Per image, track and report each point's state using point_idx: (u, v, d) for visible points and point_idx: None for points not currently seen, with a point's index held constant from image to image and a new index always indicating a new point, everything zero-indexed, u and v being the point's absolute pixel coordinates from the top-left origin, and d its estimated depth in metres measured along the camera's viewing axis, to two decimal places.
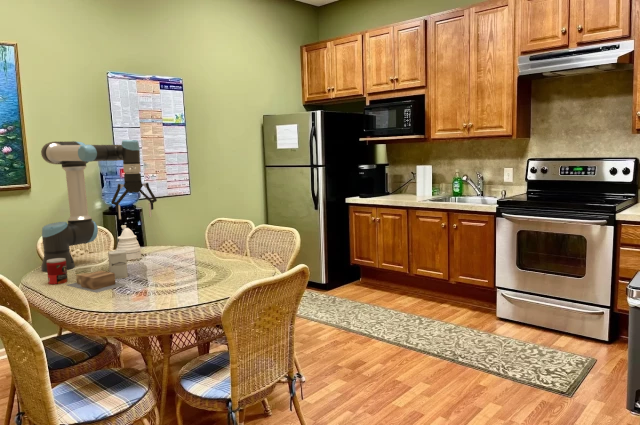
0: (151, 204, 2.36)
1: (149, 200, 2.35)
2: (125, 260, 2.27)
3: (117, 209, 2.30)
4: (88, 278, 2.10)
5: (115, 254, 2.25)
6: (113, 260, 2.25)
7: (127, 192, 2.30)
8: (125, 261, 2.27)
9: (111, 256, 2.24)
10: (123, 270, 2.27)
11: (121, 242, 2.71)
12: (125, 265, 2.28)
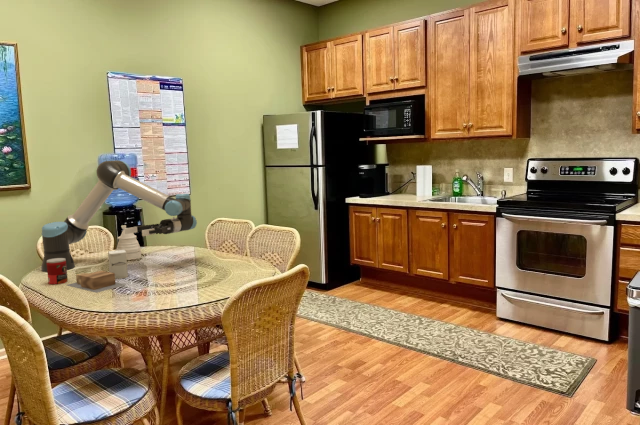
0: (154, 230, 2.36)
1: None
2: (125, 260, 2.27)
3: None
4: (88, 278, 2.10)
5: (115, 254, 2.25)
6: (113, 260, 2.25)
7: None
8: (125, 261, 2.28)
9: (111, 256, 2.24)
10: (123, 270, 2.27)
11: (121, 242, 2.71)
12: (125, 265, 2.28)
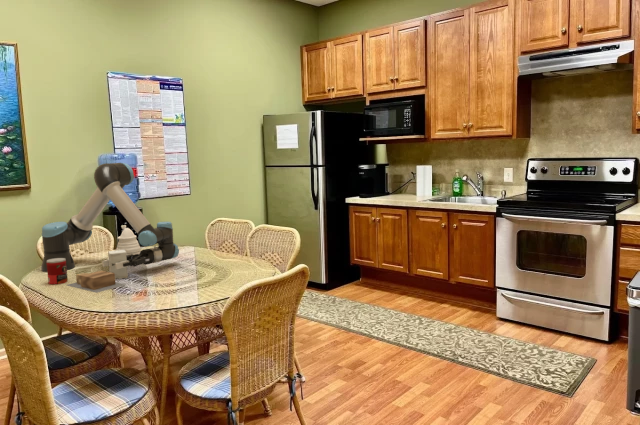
0: (128, 262, 2.27)
1: (131, 260, 2.29)
2: (125, 260, 2.27)
3: None
4: (88, 278, 2.10)
5: (115, 254, 2.25)
6: (113, 260, 2.25)
7: (131, 255, 2.38)
8: None
9: (112, 256, 2.24)
10: (123, 270, 2.27)
11: (121, 242, 2.71)
12: None
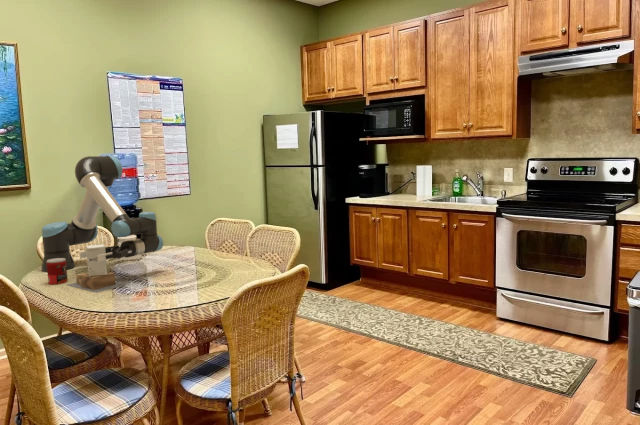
0: (111, 254, 2.12)
1: None
2: None
3: None
4: (88, 278, 2.10)
5: (93, 248, 2.10)
6: (91, 255, 2.09)
7: (110, 247, 2.23)
8: None
9: (89, 250, 2.09)
10: (102, 266, 2.12)
11: (121, 242, 2.71)
12: (104, 260, 2.12)
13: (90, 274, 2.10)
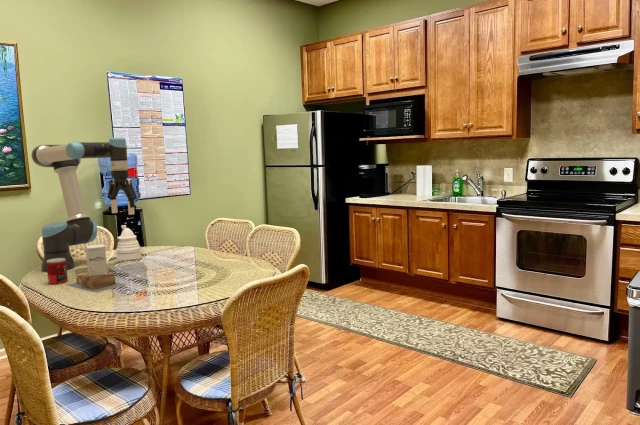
0: (130, 202, 2.34)
1: (128, 198, 2.34)
2: (104, 255, 2.12)
3: None
4: (88, 278, 2.10)
5: (93, 248, 2.10)
6: (91, 255, 2.09)
7: (114, 188, 2.38)
8: (104, 256, 2.12)
9: (89, 250, 2.09)
10: (102, 266, 2.12)
11: (121, 242, 2.71)
12: (104, 260, 2.12)
13: (90, 274, 2.10)
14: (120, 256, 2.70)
